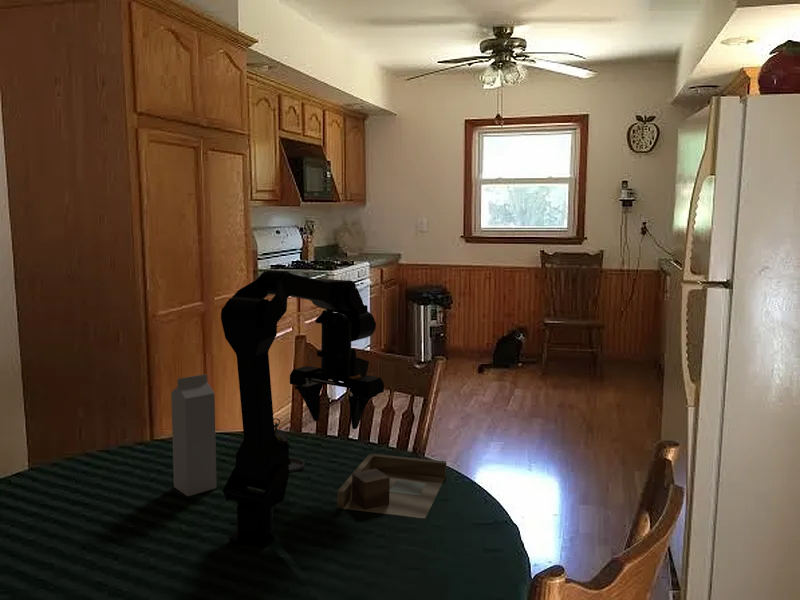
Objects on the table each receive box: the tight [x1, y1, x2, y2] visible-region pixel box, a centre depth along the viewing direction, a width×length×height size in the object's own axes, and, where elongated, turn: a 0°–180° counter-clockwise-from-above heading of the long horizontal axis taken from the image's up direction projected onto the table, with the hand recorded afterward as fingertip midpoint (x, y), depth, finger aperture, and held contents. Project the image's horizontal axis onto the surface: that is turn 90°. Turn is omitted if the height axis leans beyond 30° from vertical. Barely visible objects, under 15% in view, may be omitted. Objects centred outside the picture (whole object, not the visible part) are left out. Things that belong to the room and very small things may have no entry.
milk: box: [170, 373, 217, 497], centre depth 130 cm, size 6×6×22 cm
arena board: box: [336, 453, 447, 520], centre depth 128 cm, size 20×16×4 cm
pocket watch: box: [274, 417, 305, 473], centre depth 142 cm, size 8×8×10 cm
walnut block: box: [351, 469, 390, 510], centre depth 123 cm, size 5×5×5 cm
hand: (335, 424), depth 131 cm, fingers open, 9 cm apart
